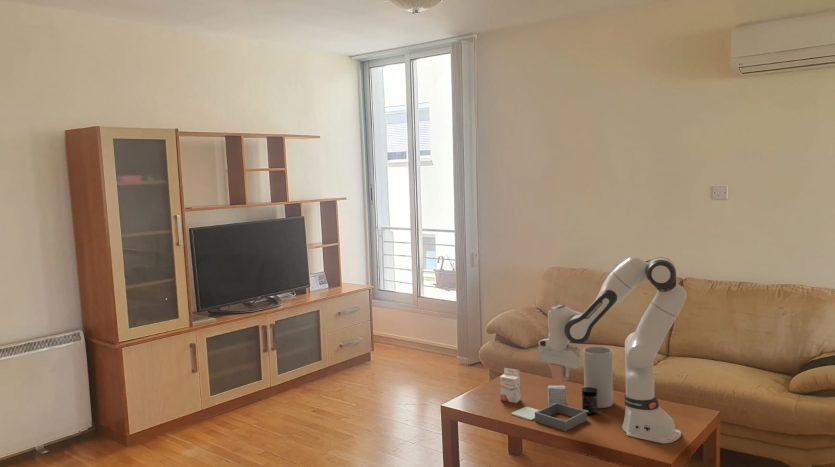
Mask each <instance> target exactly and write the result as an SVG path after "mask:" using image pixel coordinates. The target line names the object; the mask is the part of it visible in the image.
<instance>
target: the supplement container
mask: <svg viewBox="0 0 835 467" xmlns="http://www.w3.org/2000/svg"><path fill="white" fill-rule="evenodd" d="M581 410H584V411H587V416H594V415H596V414H598V413H599V412H598V410H599V408H598V402H597V389H595V388H592V387H585V388H584V387H582V388H581Z"/></svg>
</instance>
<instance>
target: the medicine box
mask: <svg viewBox="0 0 835 467" xmlns="http://www.w3.org/2000/svg"><path fill="white" fill-rule="evenodd" d="M566 391H567V389H566V386H565V385H547V405H548V406H550V405H552V404H554V403H560V404H563V405H567V392H566Z"/></svg>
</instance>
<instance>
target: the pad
mask: <svg viewBox="0 0 835 467" xmlns="http://www.w3.org/2000/svg"><path fill="white" fill-rule="evenodd" d="M539 410H540V409H537V408H532V407H531V406H524V407H521V408H520V409H519V408H518V409H517V410H515V411H513V412H510V414H511V416H512V415H513V416H514V417H518V418H521V419H524V420H527V421H530V422H531V421H535V412H537V411H539Z"/></svg>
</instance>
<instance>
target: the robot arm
mask: <svg viewBox="0 0 835 467" xmlns="http://www.w3.org/2000/svg"><path fill="white" fill-rule="evenodd" d="M646 281H649V283H650V284H651V285H653V286H654V288H655V289H656V294H655V296H654V297H653V299H652V300H651V302H650V303H649V305H648V307H647V309H646V310H645V311H644V313H643V315H642V316H641V319H640V321H639V323H638V325H637V327H636V329H635V331H633V332H631V333H629V334H628V335H627V337H626V338H625V341H624V365H625V366H624V367H625V368H624V369H625V370H624V372H625V393H624V407H625V410H624V419H623V422H622V425H621V426H622V427H621V429H622V430H623V431H624V432H625V434H626V436H627V437H631V438H636V439H641V440H646V441H649V442H656V443H660V444H663V445H665V444H670V443H673V442H675V441H678V440H679V439H680V438H681V436H682V432H681V430H679V429H676V426H675V421H674V418H672V417H671V415H669V413H667V412H666V411H665V410H664V409H663V408H662V407H660V405H659V404H660V403H661V401H662V400H661V399H657V397H656V395H655V369H654V366H655V365H654V361H655V358H656V356H657V354H658V353H659V350H660V349H661V348H662V345H663V342H664V340H665V338H666V336H667V334H668V332H669V330H670V329H671V328H672V326H673V325H674V323H675V321H676V319H677V318H678V316H679V315H680V313H681V312H682V310H683V307H684V305H685V303H686V300H687V297H688V293H687V291H686V289H685V288H684V287H683V286H682V285H680V284H678V283H677V267H676V265H675V264H674V263H673V261H671V259H669V258H667V257H655V258H652V259H649V260H646V261H644V260H643V259H642V258H640V257H638V256H629V257H627V258H626V259H624V260H623V261H622V262H620V264H618V265H617V266H616V267H615V268H614V269H613V270H612V271H611V272H610V273H609V274H608V275H607V277H606V278H605V280H604V281H603V282H602V285H601V287H600V290H599V292H598V295H597V296H596V298H595V300H594V301H592V303H590V305H589V306H588V307H587V309H586V310H584V311H583V312H580V311H577V310H573V309H572V308H569V307H568V306H567V305H565V304H556V305H553V306H552V307H550V308H549V310H548V311H547V328H548V334H547V337H546V338H543V339H541V340H539V341H538V342H537V343H538V348H537V359H538V360H539V362H542V363H546V364H548V366H549V367H548V368H549V369H550V373H551V374H552V371H551V364H555V365H560V366H564V367H566V369H567V370H566V372H564V376H565V377H568V378H569V376H570V371H571V370H572V369H575V370H577V369H581V367H582V366H583V363H582V355H581V350H580V348H579V347H578V346H576V345H571V344H570V342H571V343H573V344H582V343H585V342H587V340H588V339H589V338H590V337H591V336H590V335H591V332H592V329H593V328H594V327H595V325H596V324H597V323H598V322H599V321H600V320H601V319H602V317H604V315H606V313H607V312H608V311H609V310H610V309H611V308H613V307H614V306H615V305H617V304H618V303H620V302H621V301H622V300H624V299H625V298H626V297H628V296H629V295H630V294H631V293H632V292H633V291H634V290H635V289H636V288H637V287H638V286H639V285H640V284H642V283H643V282H646Z"/></svg>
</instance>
